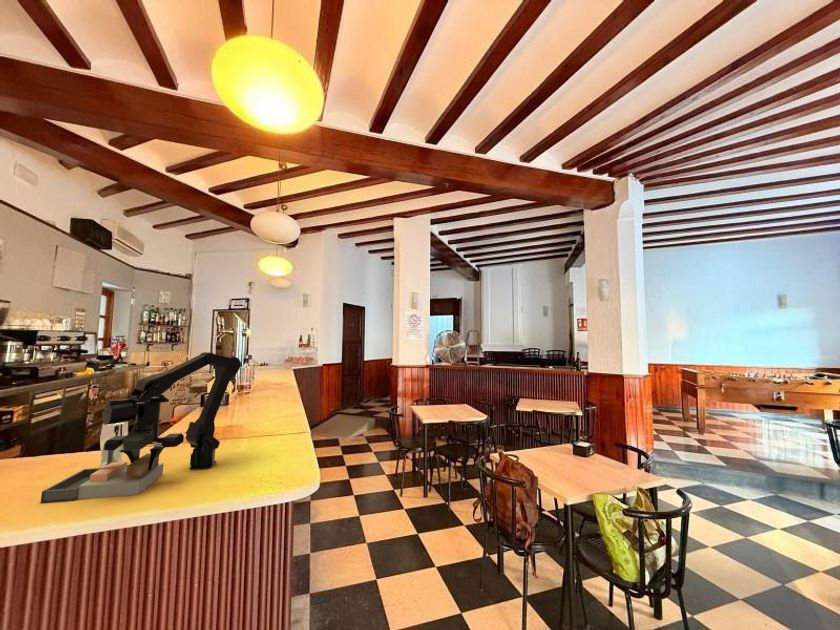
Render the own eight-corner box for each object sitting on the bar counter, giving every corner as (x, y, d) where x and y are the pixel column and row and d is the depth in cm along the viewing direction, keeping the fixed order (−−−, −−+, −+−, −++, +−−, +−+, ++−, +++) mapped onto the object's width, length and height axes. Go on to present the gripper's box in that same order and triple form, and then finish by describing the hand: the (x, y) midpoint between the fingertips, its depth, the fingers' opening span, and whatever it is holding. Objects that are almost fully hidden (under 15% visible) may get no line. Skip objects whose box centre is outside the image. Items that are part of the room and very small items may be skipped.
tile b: (115, 475, 99) (115, 468, 99) (106, 480, 95) (107, 473, 95) (98, 476, 98) (99, 469, 98) (89, 482, 94) (90, 474, 94)
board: (162, 474, 109) (163, 463, 110) (137, 494, 95) (139, 481, 95) (111, 477, 106) (112, 466, 106) (77, 499, 91) (78, 486, 92)
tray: (112, 476, 106) (113, 467, 106) (75, 500, 91) (77, 488, 91) (83, 478, 104) (84, 469, 104) (40, 503, 89) (41, 491, 89)
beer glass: (107, 472, 109) (112, 426, 111) (91, 470, 111) (96, 424, 112) (129, 465, 116) (134, 421, 117) (114, 463, 118) (118, 420, 119)
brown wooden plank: (158, 465, 108) (159, 452, 108) (139, 479, 97) (141, 465, 97) (145, 466, 107) (146, 453, 107) (125, 480, 96) (127, 465, 96)
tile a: (126, 468, 105) (127, 461, 105) (119, 472, 101) (119, 466, 101) (111, 469, 104) (112, 462, 104) (103, 473, 100) (103, 467, 100)
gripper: (93, 425, 93) (87, 483, 92) (171, 423, 98) (166, 478, 97) (117, 417, 104) (112, 468, 102) (186, 415, 109) (182, 464, 107)
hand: (143, 470), depth 102 cm, fingers closed on brown wooden plank, 3 cm apart
